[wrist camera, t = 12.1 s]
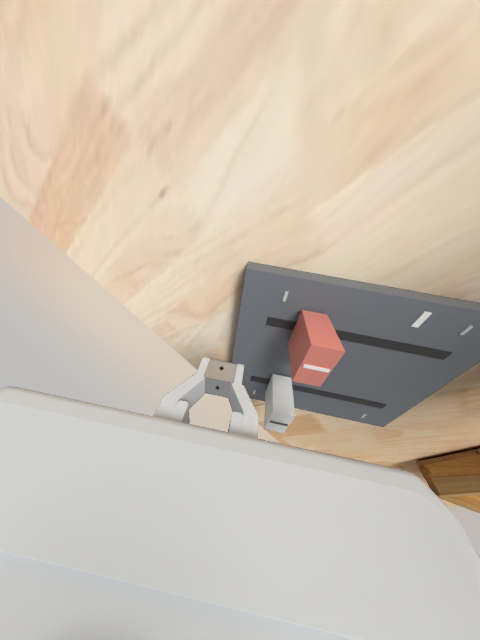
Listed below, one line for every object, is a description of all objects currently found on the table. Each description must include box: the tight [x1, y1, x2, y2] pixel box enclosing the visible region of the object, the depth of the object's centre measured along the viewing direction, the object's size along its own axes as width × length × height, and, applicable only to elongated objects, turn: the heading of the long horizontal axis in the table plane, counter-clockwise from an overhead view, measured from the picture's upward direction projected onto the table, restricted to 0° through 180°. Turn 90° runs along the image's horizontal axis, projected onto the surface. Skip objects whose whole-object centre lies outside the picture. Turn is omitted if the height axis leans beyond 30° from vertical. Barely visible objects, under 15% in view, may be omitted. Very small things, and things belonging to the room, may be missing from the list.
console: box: [232, 262, 480, 427], centre depth 21 cm, size 24×20×2 cm
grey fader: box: [264, 374, 295, 433], centre depth 21 cm, size 2×4×5 cm, turn 172°
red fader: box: [288, 310, 345, 387], centre depth 15 cm, size 2×4×5 cm, turn 172°
